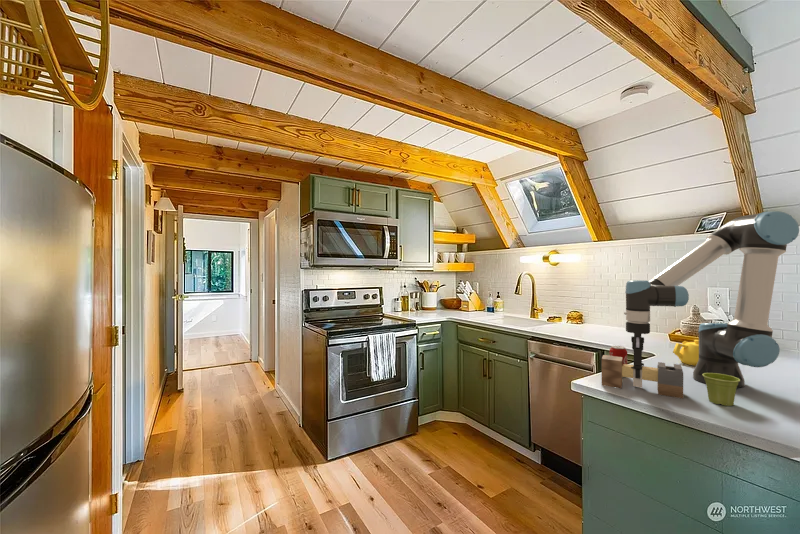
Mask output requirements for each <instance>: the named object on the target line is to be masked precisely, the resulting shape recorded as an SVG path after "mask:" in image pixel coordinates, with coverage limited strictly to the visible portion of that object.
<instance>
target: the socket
mask: <svg viewBox="0 0 800 534" xmlns="http://www.w3.org/2000/svg"><path fill="white" fill-rule="evenodd" d="M622 362H623V357H617V356H610V355H607V354H603V355H602V357H601V386H602V387H603V386H604V387H609V388H614V387H616V389H620V390H621V389H622V388H623V378H622Z"/></svg>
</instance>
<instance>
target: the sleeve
mask: <svg viewBox="0 0 800 534" xmlns="http://www.w3.org/2000/svg"><path fill="white" fill-rule="evenodd" d="M656 368H658V382H656V385H657V395H658V396H665V397H671V398H676V399H682V400H683V399H684V370H683V367H682V365H681V364H678V363H673V366H672V365H666V362H661V361H660V362H659V361H658V362H657V366H656ZM666 369H669V370H666Z"/></svg>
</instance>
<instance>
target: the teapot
mask: <svg viewBox="0 0 800 534" xmlns="http://www.w3.org/2000/svg"><path fill="white" fill-rule="evenodd" d="M672 354H674V355H675V356H677V357H678V360H679V361H681V363H683V364H685V365H689V366H693V367H696V365H697V362H698V360H699V339H693V341H686V340H684V341H682V342H681V343H678V342H675V346H674V348H673V351H672Z"/></svg>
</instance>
